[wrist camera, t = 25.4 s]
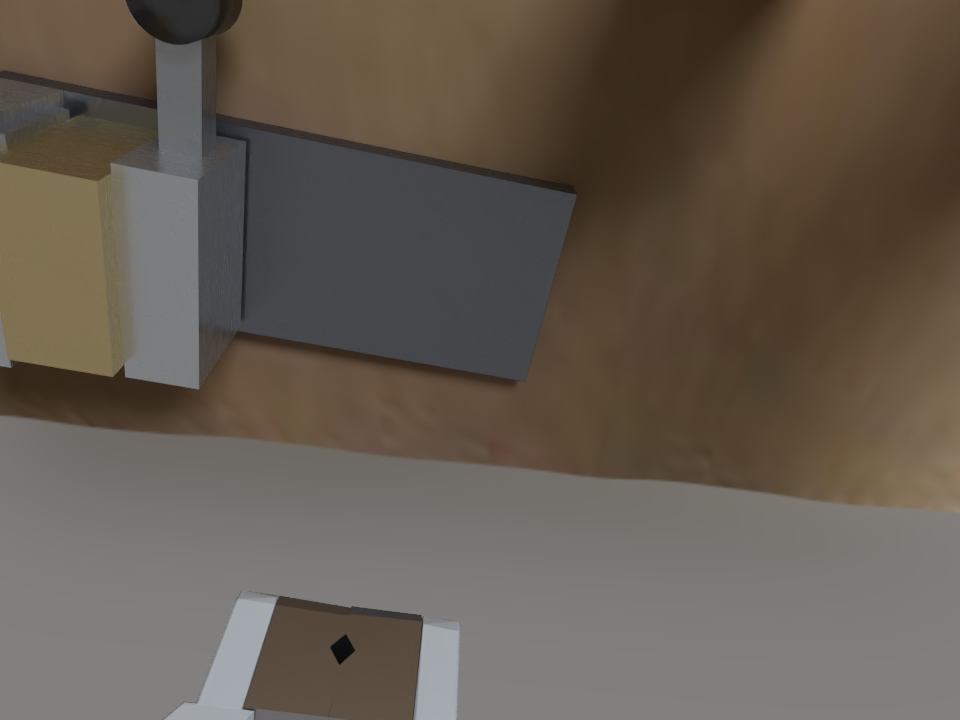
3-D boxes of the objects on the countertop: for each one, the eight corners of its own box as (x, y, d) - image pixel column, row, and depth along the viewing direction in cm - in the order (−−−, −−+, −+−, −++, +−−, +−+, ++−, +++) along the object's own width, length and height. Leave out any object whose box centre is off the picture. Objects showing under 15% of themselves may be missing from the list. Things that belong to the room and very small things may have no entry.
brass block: (176, 134, 30) (97, 181, 24) (180, 300, 34) (113, 377, 28) (79, 114, 29) (-26, 157, 23) (95, 285, 33) (8, 359, 27)
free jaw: (251, -47, 26) (196, -45, 21) (240, 325, 34) (199, 389, 29) (169, -65, 26) (94, -68, 21) (178, 314, 34) (125, 376, 29)
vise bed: (574, 187, 32) (595, 244, 26) (524, 369, 37) (531, 454, 31) (4, 70, 30) (-124, 102, 23) (33, 282, 35) (-66, 355, 28)
